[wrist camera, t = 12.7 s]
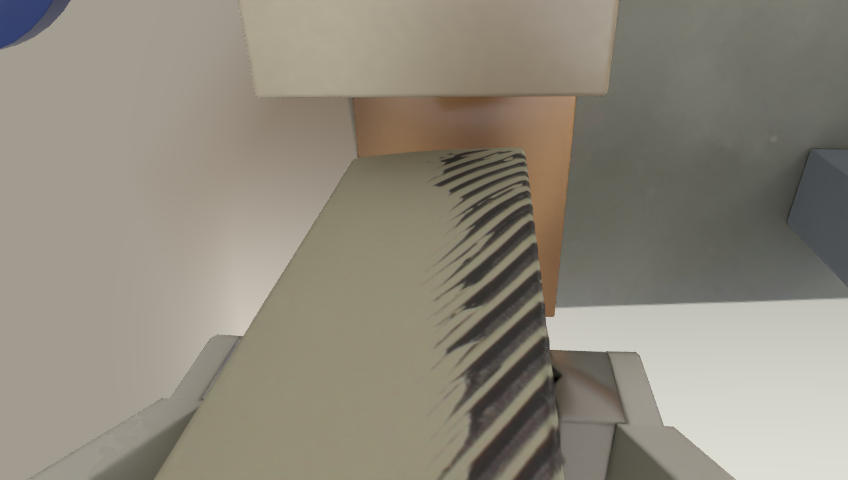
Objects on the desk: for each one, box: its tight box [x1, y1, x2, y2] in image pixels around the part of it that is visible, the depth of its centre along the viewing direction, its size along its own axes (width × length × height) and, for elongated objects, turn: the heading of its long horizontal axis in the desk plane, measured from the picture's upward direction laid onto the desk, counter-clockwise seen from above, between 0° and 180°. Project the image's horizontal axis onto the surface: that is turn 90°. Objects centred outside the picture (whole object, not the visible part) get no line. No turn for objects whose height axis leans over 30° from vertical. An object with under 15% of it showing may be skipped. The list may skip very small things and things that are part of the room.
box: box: [154, 147, 564, 480], centre depth 9 cm, size 5×4×13 cm
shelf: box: [238, 0, 620, 317], centre depth 25 cm, size 9×20×31 cm, turn 2°
